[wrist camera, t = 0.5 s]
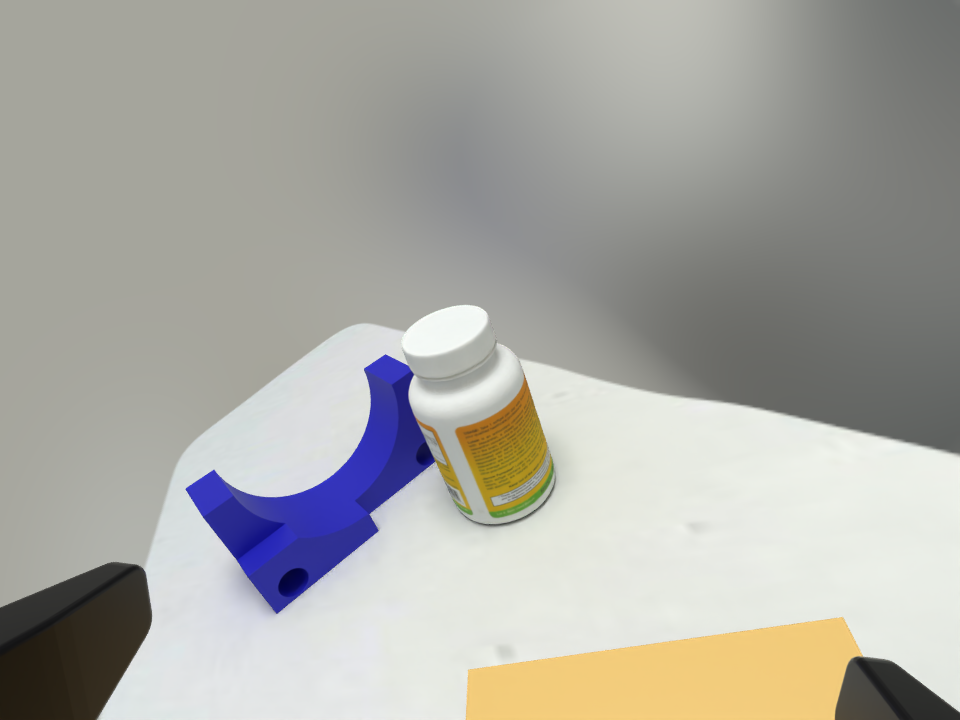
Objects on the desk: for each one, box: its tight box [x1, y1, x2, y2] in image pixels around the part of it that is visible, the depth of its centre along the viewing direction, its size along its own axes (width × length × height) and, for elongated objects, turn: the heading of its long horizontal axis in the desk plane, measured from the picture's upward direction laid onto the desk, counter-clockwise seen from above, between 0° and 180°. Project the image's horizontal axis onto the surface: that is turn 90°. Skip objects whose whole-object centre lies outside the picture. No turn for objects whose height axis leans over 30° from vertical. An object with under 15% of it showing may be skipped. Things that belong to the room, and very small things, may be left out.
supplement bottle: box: [401, 305, 555, 524], centre depth 29 cm, size 5×5×10 cm
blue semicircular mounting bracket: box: [186, 354, 435, 614], centre depth 32 cm, size 12×4×6 cm, turn 130°
